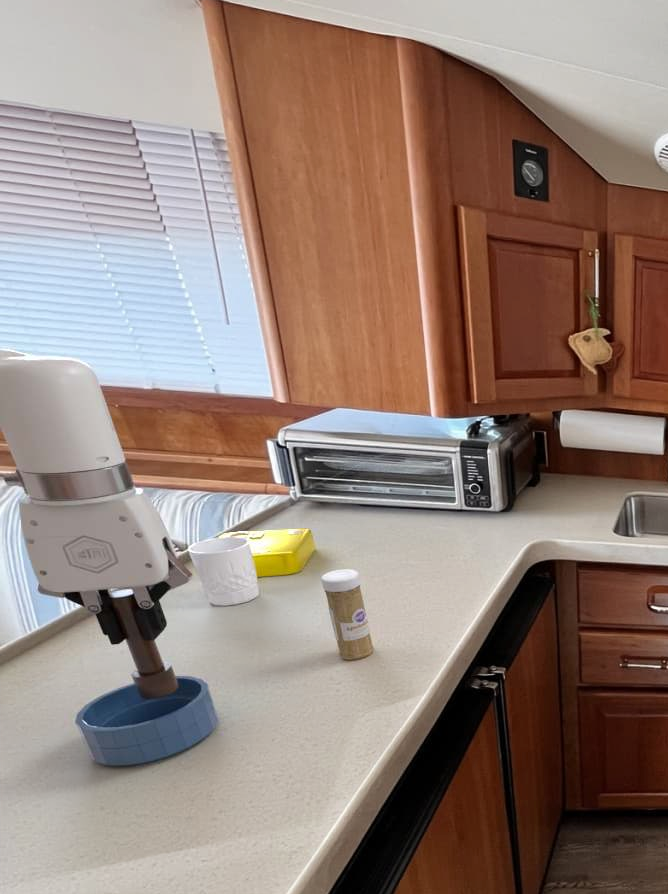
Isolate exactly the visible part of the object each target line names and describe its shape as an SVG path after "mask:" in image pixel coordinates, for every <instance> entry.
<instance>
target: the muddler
mask: <svg viewBox="0 0 668 894" xmlns="http://www.w3.org/2000/svg"><path fill="white" fill-rule="evenodd" d="M109 599H110V601H111V604H112V606H113V609H114V611H115V614H116V617H117V619H118V622H119V624H120V627H121V629H122V632H123V635H124V637H125V640H124V641H125V642H126V645H127V648H128V650H129V653H130V655H131V658H132V661H133V662H134V665H135V668H136V669H134V670H133V671H132V672H131V678H132V681H133V683H135V686H136V688H137V691H138V693H139V696H140V697H141V698H143V699H155V698H160V697H163V696H166V695H169V694H171V693H173V692H174V691H176V690H177V689H178V687H179V685H178V682H177V679H176V676H177V675H176V674H175V671H174V668H173V665H172V664H171V663H169V662H166V661H165V662H164V661H163V659H162V656H161V653H160V651H159V648H158V646H157V643H156V639H155V640H152V641H147V640H145V639H144V637H143V634H142V632H141V629H140V626H139V624H138V621H137V618H136V616H135V610H136V609H137V608H139V607H138V604H137V600H136V598H135V596H134V593H133V591H132V588H129V589H128V588H126V589H121V590H116V591H113V592H112V593H111V594H110V595H109Z"/></svg>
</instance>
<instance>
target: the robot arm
mask: <svg viewBox="0 0 668 894" xmlns="http://www.w3.org/2000/svg"><path fill="white" fill-rule="evenodd" d="M103 393H104V392H103V391H102V388H101V385H100V381H99V379H98V377H97V374H96V373H95V371H94V370H93V368H92V367H91V366H90V365H89V364H87V363H86V362H84V361H82V360H79V359H76V358H71V357H62V356H61V357H60V356H47V355H46V356H42V355H40V356H39V355H38V356H37V355H36V356H35V355H31V354H28V353H24V352H20V351H17V350H12V349H7V348H0V430H1V432H2V434H3V435H2V436H3V437H4V439H5V442H6V444H7V446H8V449H9V451H10V454H11V456H12V458H13V461H14V463H15V466H16V469H15V472H6V473H4V475H3V482H4V483H5V484H6V485H7V486H9V487H18V488H22V489H23V492H24V494H25V495H28V496H27V497H23V498H22V499H20V500H19V501H18V509H19V510H18V511H19V520H20V525H21V532H22V537H23V542H24V545H25V548H26V553H27V555H28V558H29V562H30V565H31V568H32V570H33V571H32V572H33V573H34V576H35V578H36V580H37V582H38V585H37V591H38V593H39V594H41V595H44V596H49V597H54V598H60V599H63V598H64V599H66V600H68V601H70V602H72V603H75V604H77V605H79V606H81V607H84V608H85V610H86V612H88V613H90V614H94V615H95V617H96V620H97V622H98V624H99V627H100V629H101V632H102V634H103V635H104V636H107V637H108V640H109V642H110V644H111V645H112V646H113V645H120V644H122V643H123V642H124V641H126V640H125V637H124V635H123V632H122V629H121V627H120V624H119V622H118V619H117V617H116V614H115V611H114V609H113V606H112V604H111V601H110V599H109V595H110V594H111V593H113V592H112V590H114V589H128V588H130V589H132V591H133V593H134V596H135V598H136V600H137V604H138V607H139V608H137V609H136V610H135V616H136V618H137V621H138V624H139V626H140V629H141V632H142V634H143V637H144V639H145V640H147V641H152V640H155V641H156V639H157V638H158V637H159V636H160V635H161V634H162V633H163V632H164V631H165V629H166V628H167V625H168V622H167V618H166V616H165V613H164V610H163V607H162V604H161V602H160V600H161V599H162V598H163V597H164V596H165V595H166V594H167V593H168V592H169V591H172V590H174V589H176V588H179V587H181V586H183V585H186V584H188V583H189V582H190V581H191V580H192V579H193V578H194V575H193V572H191V571H190V570H189V569H188V568H187V567H186V566H185V565H184V564H183V563H182V562H181V561H180V560H179V557H178V554H177V551H176V549H175V546H174V543H173V541H172V538H171V536H170V533H169V531H168V529H167V527H166V525H165V523H164V520H163V519H162V517H161V515H160V513H159V511H158V509H157V508H156V506H155V505H154V503H153V501H152V500H151V498H150V497H149V496H148V494H147V493H146V491H145V490H144V489H143V488H142V487H141V488H139V487H136V486H135V483H134V480H133V477H132V474H131V471H130V468H129V466H128V463H127V460H126V457H125V454H124V451H123V449H122V445H121V442H120V440H119V437H118V434H117V431H116V428H115V425H114V422H113V419H112V417H111V414H110V411H109V408H108V404H107V402H106V399H105V396H104V394H103Z"/></svg>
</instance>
